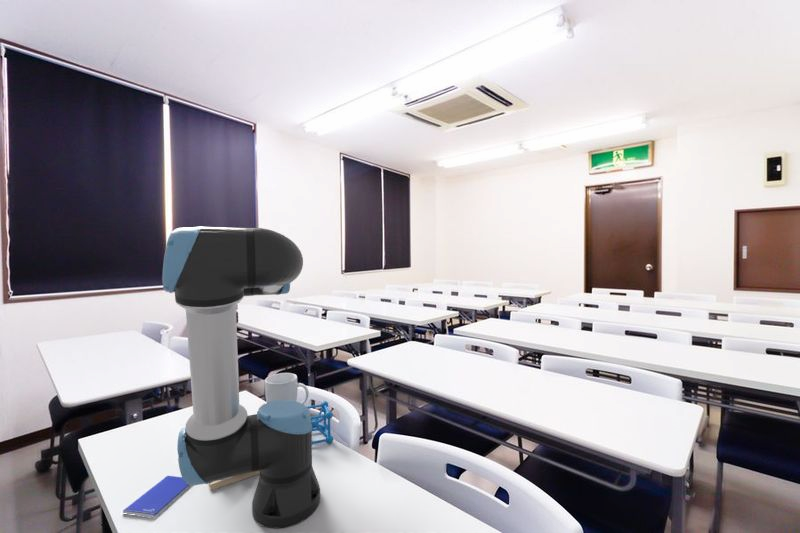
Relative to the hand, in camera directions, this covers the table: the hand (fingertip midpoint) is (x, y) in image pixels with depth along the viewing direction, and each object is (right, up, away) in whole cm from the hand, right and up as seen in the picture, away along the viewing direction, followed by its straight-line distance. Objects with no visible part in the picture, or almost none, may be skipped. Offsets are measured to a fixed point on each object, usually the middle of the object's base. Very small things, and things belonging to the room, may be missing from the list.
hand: (227, 385), depth 113 cm
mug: (+13, -16, +16) cm, 26 cm away
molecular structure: (+28, -17, -2) cm, 33 cm away
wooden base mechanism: (+6, -17, -12) cm, 22 cm away
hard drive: (-3, -19, -27) cm, 33 cm away
